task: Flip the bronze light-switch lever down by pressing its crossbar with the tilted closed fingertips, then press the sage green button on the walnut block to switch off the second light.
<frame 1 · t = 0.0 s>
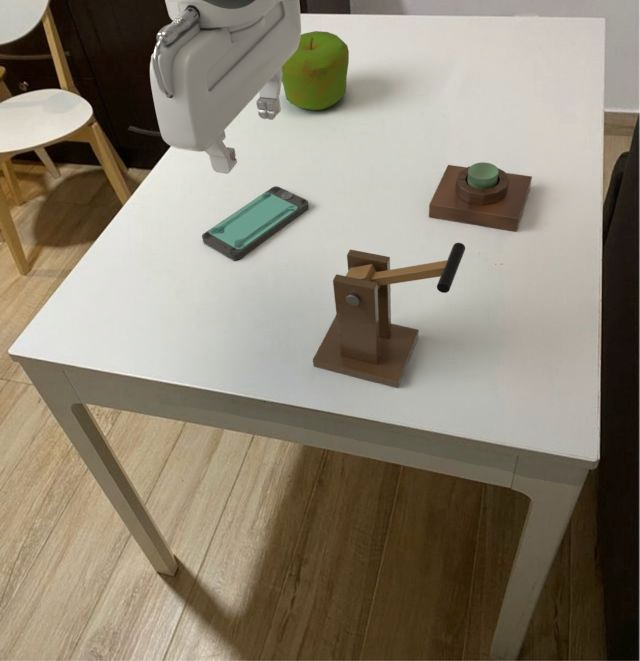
hand: (249, 141, 61), 25 cm above the table, tool pointing down, fingers open, 8 cm apart
smartphone: (256, 225, 94), on the table
apple: (317, 102, 117), on the table
switch lever: (401, 275, 65), point 13 cm above the table, hinge at 25.0°
light button: (482, 175, 89), point 4 cm above the table, slide at 0.1 cm
button block: (479, 203, 92), on the table
switch bracket: (366, 351, 76), on the table
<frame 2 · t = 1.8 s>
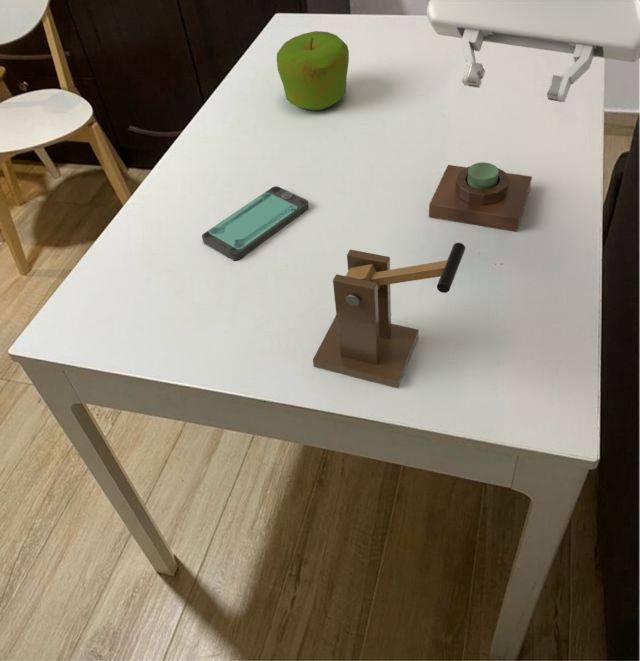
hand: (511, 91, 61), 26 cm above the table, tool tilted 45°, fingers open, 7 cm apart
nothing on the table moved.
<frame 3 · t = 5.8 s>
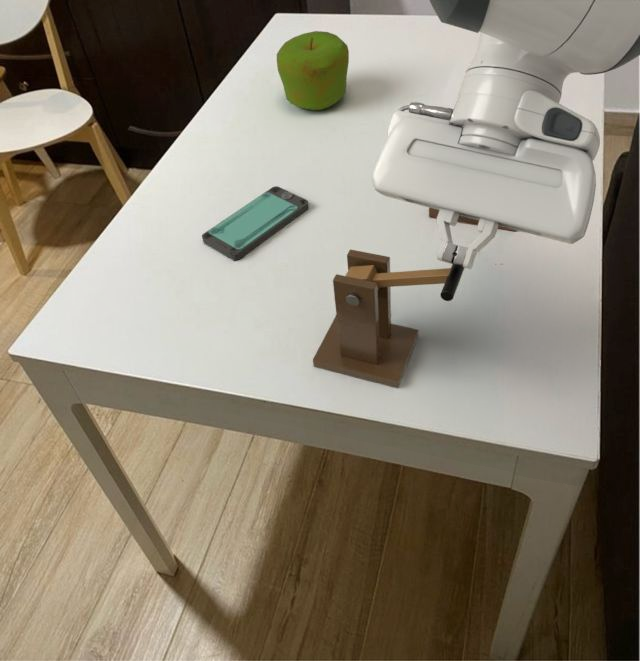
hand: (453, 264, 61), 16 cm above the table, tool tilted 45°, fingers closed, pressing on switch lever
switch lever: (403, 278, 65), point 13 cm above the table, hinge at 19.1°, touching gripper
everything else where it was.
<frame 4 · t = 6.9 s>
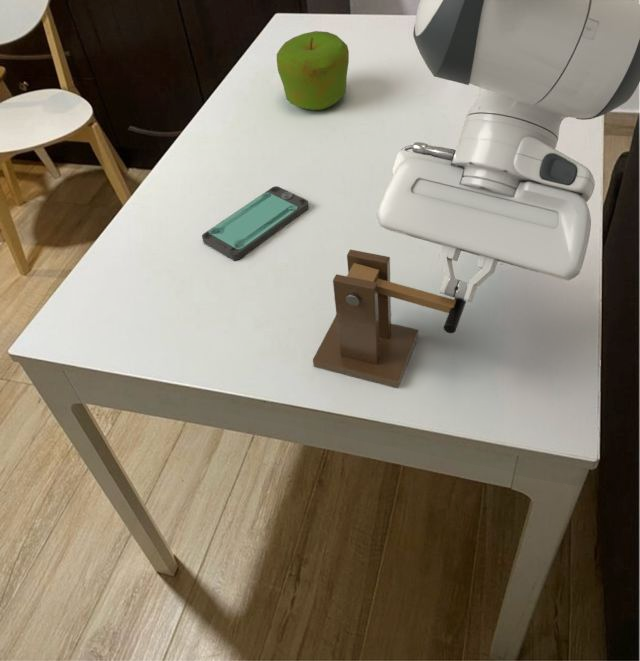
hand: (455, 298, 64), 11 cm above the table, tool tilted 45°, fingers closed
switch lever: (405, 293, 66), point 11 cm above the table, hinge at -5.7°, touching gripper
everything else where it was.
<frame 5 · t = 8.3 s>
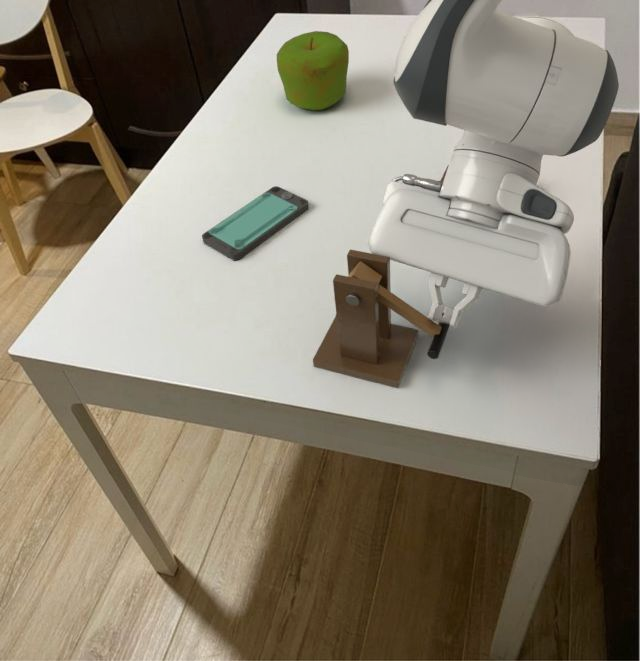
hand: (442, 323, 68), 7 cm above the table, tool tilted 45°, fingers closed
switch lever: (398, 306, 68), point 9 cm above the table, hinge at -32.5°, touching gripper
everything else where it was.
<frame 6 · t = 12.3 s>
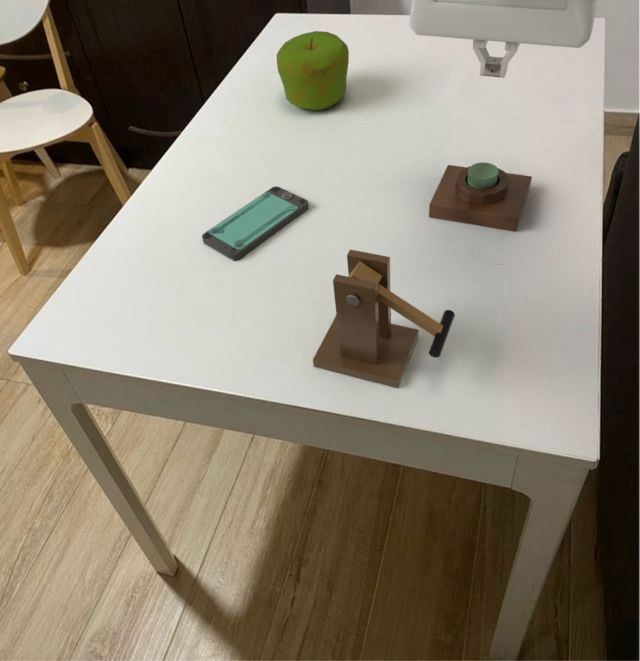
hand: (493, 74, 79), 19 cm above the table, tool pointing down, fingers closed
switch lever: (399, 305, 68), point 9 cm above the table, hinge at -30.8°
everything else where it was.
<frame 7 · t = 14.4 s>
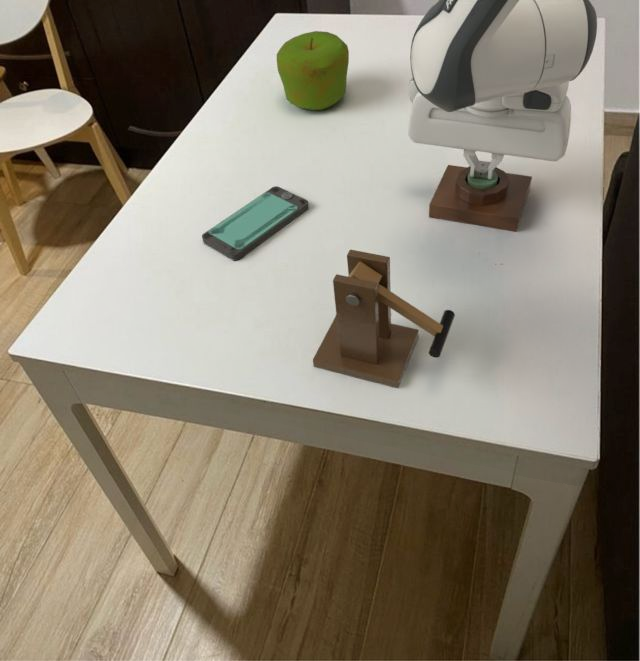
hand: (481, 176, 89), 4 cm above the table, tool pointing down, fingers closed, pressing on light button
light button: (482, 181, 90), point 4 cm above the table, slide at -0.8 cm, touching gripper
everything else where it was.
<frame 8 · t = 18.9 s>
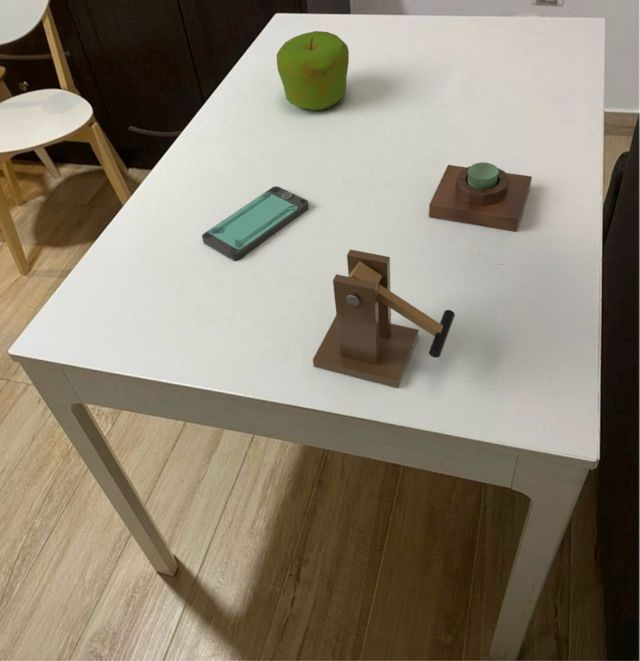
hand: (547, 4, 62), 31 cm above the table, tool pointing down, fingers closed
light button: (482, 175, 89), point 4 cm above the table, slide at 0.1 cm
everything else where it was.
at the end: switch lever at -31° (first picture: +25°); light button pushed in 1.1 cm at the most during the clip, back to where it started at the end; light button slide at 0.1 cm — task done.
